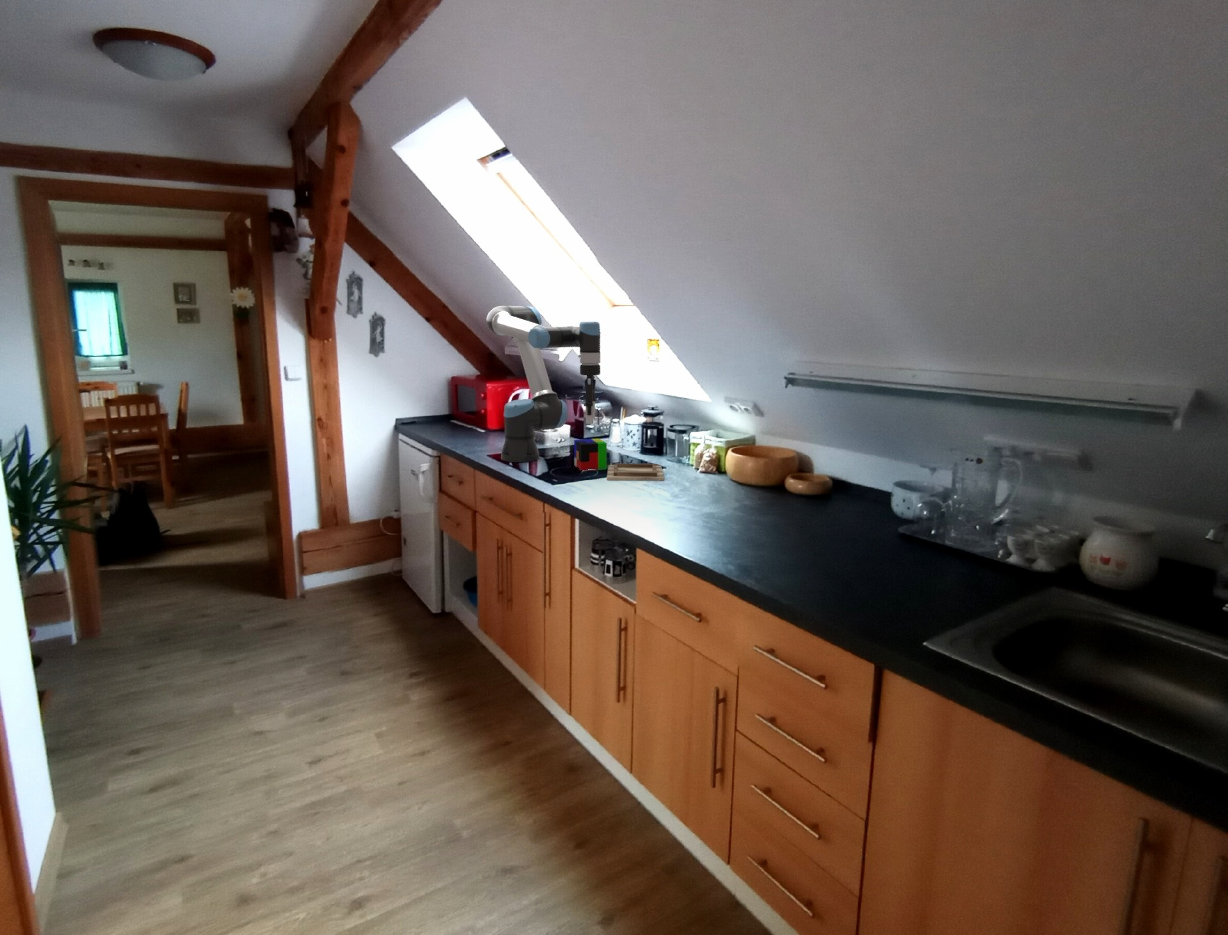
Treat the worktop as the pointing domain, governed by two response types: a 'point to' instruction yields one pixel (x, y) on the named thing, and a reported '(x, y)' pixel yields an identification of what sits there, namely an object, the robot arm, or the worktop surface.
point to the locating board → (635, 472)
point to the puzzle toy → (590, 454)
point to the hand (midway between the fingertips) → (590, 421)
